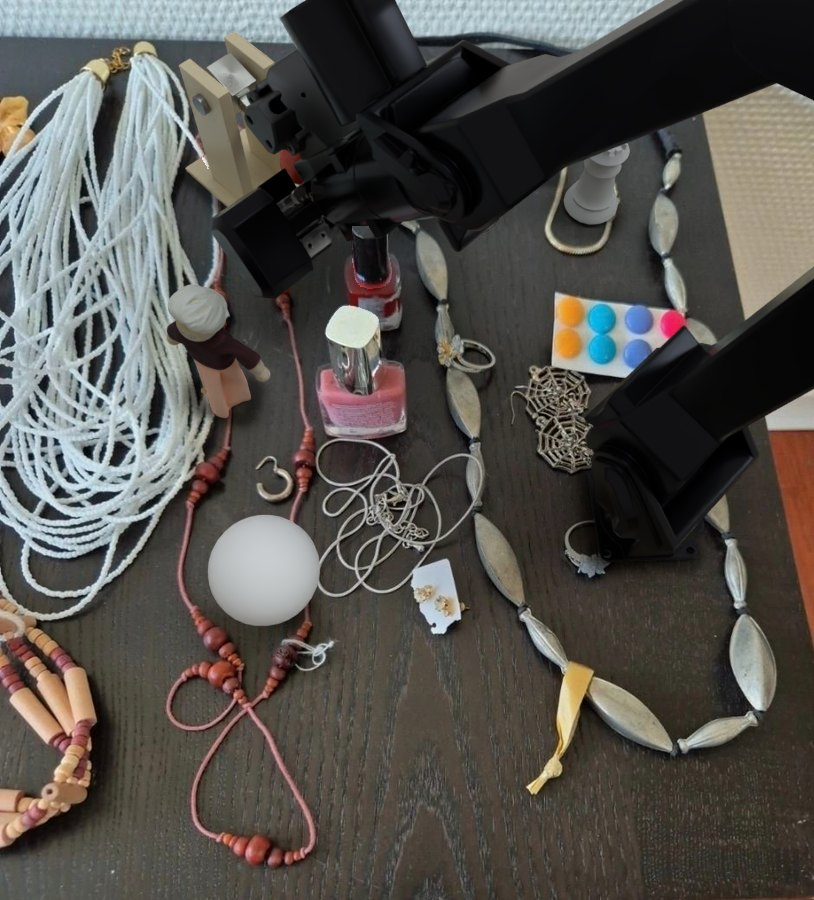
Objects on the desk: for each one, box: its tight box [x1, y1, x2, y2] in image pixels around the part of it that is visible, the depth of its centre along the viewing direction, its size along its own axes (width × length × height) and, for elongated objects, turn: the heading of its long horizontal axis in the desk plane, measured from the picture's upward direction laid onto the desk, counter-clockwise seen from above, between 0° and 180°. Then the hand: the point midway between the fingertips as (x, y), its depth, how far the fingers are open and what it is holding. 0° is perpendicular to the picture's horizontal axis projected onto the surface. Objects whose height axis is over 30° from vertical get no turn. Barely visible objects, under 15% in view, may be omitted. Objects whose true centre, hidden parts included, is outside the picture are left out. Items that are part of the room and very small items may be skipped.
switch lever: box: [205, 52, 304, 185], centre depth 56 cm, size 10×3×3 cm, turn 45°
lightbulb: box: [207, 514, 321, 627], centre depth 46 cm, size 6×6×11 cm
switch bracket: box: [178, 30, 311, 208], centre depth 60 cm, size 9×7×12 cm
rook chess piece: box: [563, 142, 631, 226], centre depth 60 cm, size 4×4×8 cm
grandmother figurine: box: [166, 283, 271, 419], centre depth 51 cm, size 8×4×13 cm, turn 76°
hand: (296, 197), depth 61 cm, fingers open, 3 cm apart
